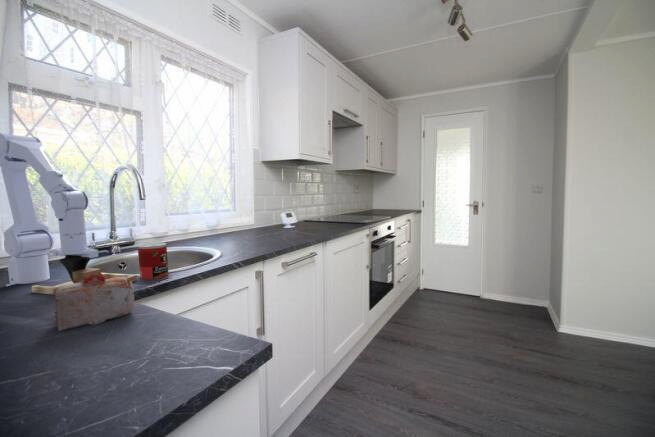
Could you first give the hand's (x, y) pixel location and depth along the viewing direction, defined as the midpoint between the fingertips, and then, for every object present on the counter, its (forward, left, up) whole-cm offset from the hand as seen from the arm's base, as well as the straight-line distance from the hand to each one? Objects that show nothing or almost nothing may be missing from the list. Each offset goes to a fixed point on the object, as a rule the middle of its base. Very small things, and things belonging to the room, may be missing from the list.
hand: (77, 281), depth 90 cm
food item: (+26, -15, -3) cm, 30 cm away
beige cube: (+4, 0, -1) cm, 4 cm away
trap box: (+3, 0, -2) cm, 4 cm away
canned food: (+14, +13, -2) cm, 19 cm away
